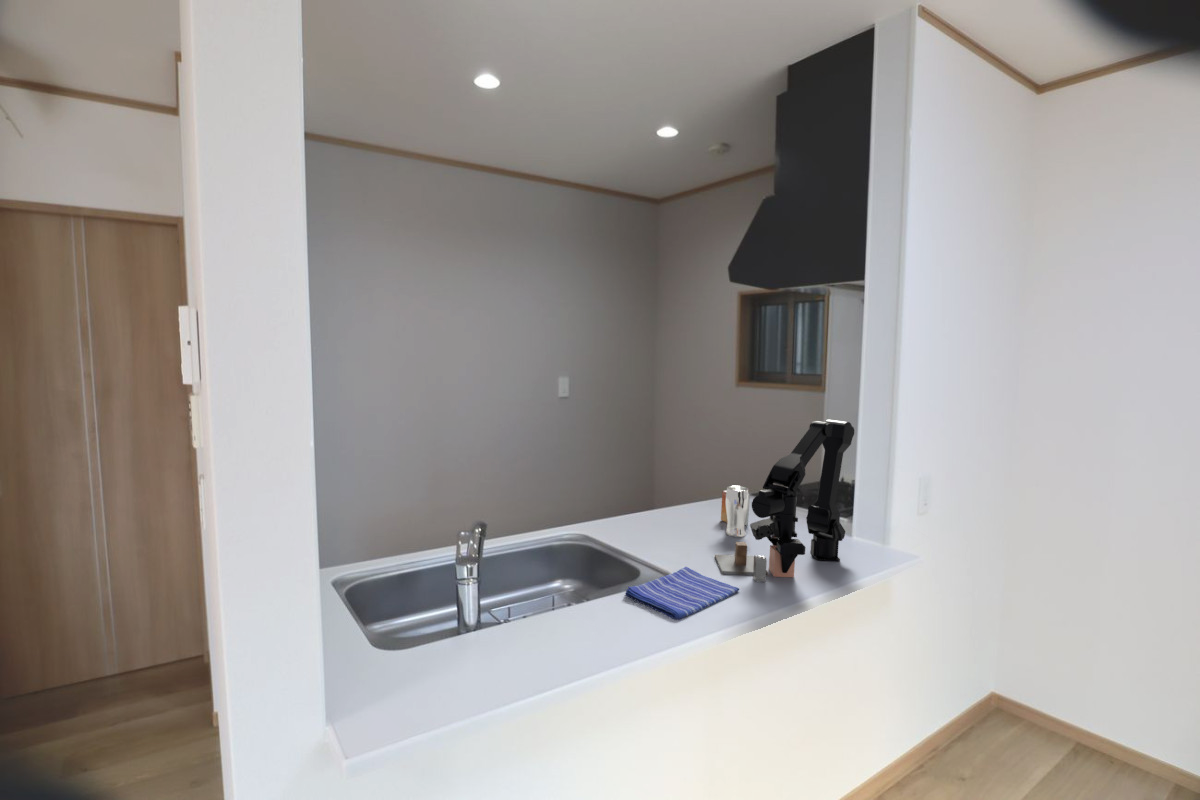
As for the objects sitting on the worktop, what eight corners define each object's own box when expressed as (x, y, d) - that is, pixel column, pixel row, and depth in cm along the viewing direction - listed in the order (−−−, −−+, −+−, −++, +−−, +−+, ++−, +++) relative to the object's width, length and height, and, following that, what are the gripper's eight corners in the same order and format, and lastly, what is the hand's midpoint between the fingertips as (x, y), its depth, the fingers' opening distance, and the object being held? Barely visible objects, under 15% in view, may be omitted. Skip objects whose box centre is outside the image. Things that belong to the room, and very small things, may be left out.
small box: (720, 520, 201) (721, 490, 200) (733, 518, 204) (734, 489, 203) (735, 527, 194) (736, 496, 193) (748, 525, 197) (750, 494, 195)
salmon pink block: (788, 569, 159) (789, 545, 158) (793, 577, 153) (795, 552, 153) (768, 568, 159) (770, 545, 158) (773, 576, 154) (775, 552, 153)
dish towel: (621, 597, 140) (622, 586, 140) (685, 572, 156) (685, 562, 156) (677, 624, 128) (677, 611, 127) (739, 594, 144) (740, 583, 143)
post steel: (763, 577, 153) (764, 555, 152) (765, 582, 150) (766, 559, 149) (752, 577, 153) (754, 555, 152) (755, 581, 150) (756, 559, 149)
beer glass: (721, 535, 186) (723, 489, 184) (727, 529, 192) (729, 484, 190) (743, 539, 182) (745, 492, 181) (749, 533, 189) (751, 487, 187)
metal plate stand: (757, 558, 166) (758, 537, 166) (767, 575, 154) (769, 552, 154) (714, 557, 166) (715, 535, 166) (722, 574, 155) (723, 550, 154)
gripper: (746, 500, 164) (743, 554, 165) (762, 521, 145) (759, 582, 147) (786, 502, 164) (783, 556, 165) (807, 522, 145) (804, 583, 147)
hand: (781, 568), depth 156 cm, fingers closed on salmon pink block, 5 cm apart
